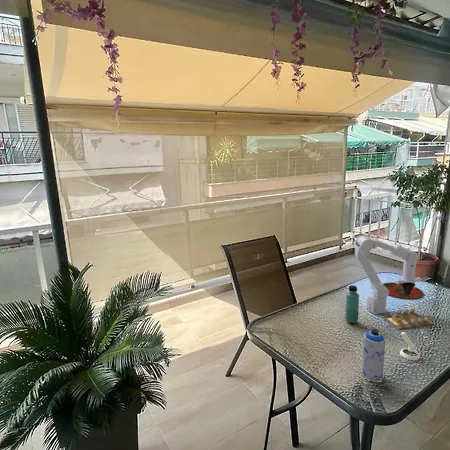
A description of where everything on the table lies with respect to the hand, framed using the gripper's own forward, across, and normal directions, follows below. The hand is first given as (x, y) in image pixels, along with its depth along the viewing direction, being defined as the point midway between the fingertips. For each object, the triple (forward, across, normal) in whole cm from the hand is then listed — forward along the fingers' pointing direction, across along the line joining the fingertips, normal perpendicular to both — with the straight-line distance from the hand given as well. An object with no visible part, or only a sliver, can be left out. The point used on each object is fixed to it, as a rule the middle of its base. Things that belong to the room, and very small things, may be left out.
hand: (407, 294), depth 169 cm
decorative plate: (+10, +16, +23) cm, 30 cm away
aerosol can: (+10, -52, -43) cm, 68 cm away
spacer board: (+9, -8, -10) cm, 16 cm away
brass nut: (+9, -14, -10) cm, 19 cm away
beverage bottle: (+10, -36, -4) cm, 37 cm away
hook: (+10, -28, -35) cm, 46 cm away
